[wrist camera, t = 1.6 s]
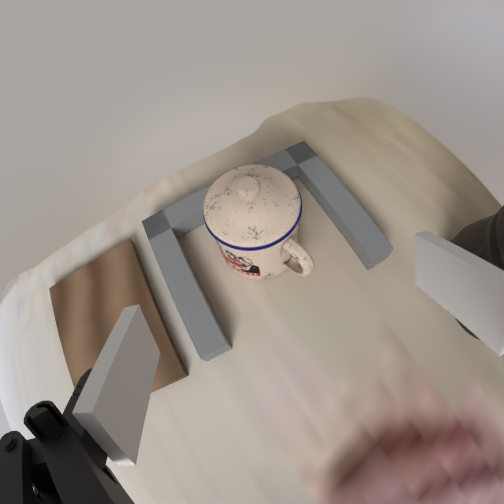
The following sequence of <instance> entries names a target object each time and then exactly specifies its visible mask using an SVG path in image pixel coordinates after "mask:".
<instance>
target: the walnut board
mask: <svg viewBox="0 0 504 504" xmlns="http://www.w3.org/2000/svg"><path fill="white" fill-rule="evenodd" d="M49 290H50V295H51V300H52V306H53V310H54V315H55V320H56V324H57V328H58V333H59V337H60V341H61V344H62V348H63V352H64V356H65V359H66V363H67V366H68V369H69V373H70V376H71V379H72V382H73V385H74V388H76V385H77V383H78V381H79V379H80V377H81V376H82V375H83V374H84V373H85V372H86V371H87V370H88V369H91V368H93V367H94V365H95V363H96V361H97V359H98V357H99V355H100V353H101V351H102V349H103V347H104V345H105V343H106V341H107V339H108V337H109V335H110V333H111V331H112V330H113V328H114V326H115V324H116V322H117V320H118V318H119V316H120V315H121V313H122V311H123V309H124V308H125V307H129V306H133V305H138V304H139V305H140V308H141V310H142V313H143V315H144V317H145V320H146V322H147V324H148V326H149V329H150V331H151V333H152V335H153V338H154V340H155V342H156V344H157V346H158V348H159V351H160V357H159V361H158V365H157V369H156V373H155V377H154V381H153V385H152V390H151V392H154V391H156V390H158V389H160V388H163V387H165V386H167V385H169V384H171V383H173V382H176V381H178V380H180V379H182V378H184V377H186V376H188V373H187V371H186V369H185V367H184V364H183V362H182V360H181V358H180V356H179V354H178V352H177V349H176V347H175V345H174V343H173V340H172V338H171V336H170V334H169V331H168V329H167V327H166V324H165V322H164V320H163V317H162V315H161V312H160V310H159V308H158V305H157V303H156V300H155V298H154V295H153V293H152V290H151V288H150V285H149V282H148V280H147V277H146V275H145V272H144V269H143V266H142V264H141V261H140V258H139V255H138V253H137V250H136V247H135V244H134V242H133V241H132V240H131V239H129V240H127V241H126V242H124V243H122V244H121V245H119V246H117V247H115V248H114V249H112V250H110V251H109V252H107V253H105V254H104V255H102V256H100V257H99V258H97V259H95V260H94V261H92V262H90V263H89V264H87V265H85V266H84V267H82V268H81V269H79V270H77V271H76V272H74V273H72V274H71V275H69V276H68V277H66V278H65V279H63V280H61V281H60V282H58V283H57V284H55V285H54V286H52V287H51V288H49Z"/></svg>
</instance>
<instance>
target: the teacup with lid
mask: <svg viewBox="0 0 504 504" xmlns="http://www.w3.org/2000/svg"><path fill="white" fill-rule="evenodd" d="M301 212H302V200H301V195H300V193H299V190H298V188H297V187H296V185H295V184H294V182H293V181H292V180H291V179H290V178H289V177H288V176H287V175H286V174H284V173H283V172H281V171H279V170H278V169H275V168H273V167H270V166H265V165H245V166H240V167H237V168H234V169H232V170H230V171H228V172H226V173H224V174H223V175H222V176H220V177H219V178H218V179H217V180H216V181H215V182H214V183H213V184H212V186H211V187H210V189H209V190H208V192H207V194H206V197H205V200H204V205H203V218H204V222H205V225H206V227H207V229H208V231H209V232H210V233H211V235H212V236H213V237H214V238H215V240H216V242H217V244H218V246H219V248H220V250H221V252H222V254H223V257H224V259H225V261H226V262H227V264H228V265H229V267H230V268H231V269H232V270H233V271H234V272H236V273H237V274H239V275H241V276H243V277H245V278H249V279H255V280H262V279H268V278H272V277H275V276H277V275H279V274H280V273H282V272H283V271H285V270H286V269H287V268H288V269H289V270H291V271H292V272H294V273H295V274H297V275H300V276H307V275H309V274H310V273H311V272H312V271H313V269H314V261H313V259H312V257H311V256H310V254H309V253H308V251H307V250H306V249H305V248H304V247H303V246H302V245H301V244H300V243H298V230H299V219H300V217H301Z"/></svg>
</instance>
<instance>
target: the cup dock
mask: <svg viewBox="0 0 504 504" xmlns="http://www.w3.org/2000/svg"><path fill="white" fill-rule="evenodd" d="M252 165H265V166H270V167H273V168H275V169H278V170H279V171H281V172H283V173H284V174H286V175H287V176H288V177H289V178H290V179H291V180H292V179H294V178H296V177H298V178H299V179H300V181H301V182H302V183H303V184H304V185H305V187H306V188H307V189H308V191H309V192H310V193H311V194H312V196H313V197H314V198H315V199H316V201H317V202H318V203H319V205H320V206H321V207H322V208H323V210H324V211H325V212H326V214H327V215H328V216H329V218H330V219H331V220H332V222H333V223H334V224H335V225H336V227H337V228H338V230H339V231H340V232H341V234H342V235H343V236H344V238H345V239H346V240H347V242H348V243H349V244H350V246H351V247H352V249H353V250H354V251H355V253H356V254H357V256H358V257H359V258H360V260H361V261H362V263H363V264H364V265H365V267H366V268H367V270H369V269H370V268H372V267H373V266H375V265H376V264H378V263H379V262H381V261H382V260H384V259H386V258H387V257H388V256H389V254H390V253H391V251H392V250H393V247H392V245H391V244H390V242H389V241H388V240H387V239H386V237H385V236H384V235H383V233H382V232H381V231H380V229H379V228H378V227H377V225H376V224H375V223H374V222H373V220H372V219H371V218H370V217H369V215H368V214H367V213H366V212H365V210H364V209H363V208H362V207H361V205H360V204H359V203H358V202H357V200H356V199H355V198H354V197H353V196H352V194H351V193H350V192H349V191H348V190H347V188H346V187H345V186H344V185H343V184H342V183H341V181H340V180H339V179H338V178H337V177H336V176H335V174H334V173H333V172H332V171H331V170H330V169H329V168H328V166H327V165H326V164H325V163H324V162H323V161H322V160H321V159H320V158H319V156H318V155H317V154H316V153H315V152H314V151H313V150H312V149H311V148H310V147H309V146H308V145H307V143H306V142H305V141H303V142H301V143H299V144H296V145H294V146H292V147H289V148H287V149H285V150H283V151H280V152H278V153H276V154H274V155H271V156H269V157H267V158H265V159H263V160H261V161H258V162H256V163H254V164H252ZM211 186H212V184H211V185H209V186H207V187H205V188H203V189H201V190H199V191H197V192H195V193H193V194H191V195H189V196H187V197H185V198H184V199H182V200H180V201H178V202H176V203H174V204H172V205H170V206H169V207H167V208H165V209H163V210H161V211H159V212H158V213H156V214H154V215H152V216H150V217H149V218H147V219H145V220H143V221H142V223H143V226H144V229H145V231H146V234H147V237H148V239H149V242H150V244H151V247H152V249H153V252H154V255H155V257H156V260H157V262H158V265H159V267H160V269H161V272H162V274H163V277H164V279H165V282H166V284H167V286H168V289H169V291H170V293H171V296H172V298H173V300H174V303H175V305H176V307H177V309H178V312H179V314H180V316H181V318H182V320H183V323H184V325H185V327H186V329H187V331H188V333H189V336H190V338H191V340H192V342H193V344H194V346H195V348H196V350H197V352H198V355H199V357H200V359H202V360H205V361H208V360H210V359H212V358H214V357H216V356H218V355H220V354H222V353H224V352H226V351H228V350H230V349H232V347H231V345H230V343H229V341H228V339H227V337H226V336H225V334H224V332H223V330H222V328H221V326H220V324H219V322H218V320H217V318H216V316H215V314H214V312H213V310H212V308H211V306H210V304H209V302H208V300H207V298H206V296H205V294H204V292H203V290H202V288H201V286H200V284H199V282H198V280H197V278H196V275H195V273H194V271H193V269H192V267H191V265H190V263H189V261H188V259H187V256H186V254H185V252H184V250H183V248H182V246H181V243H180V241H179V239H178V237H180V236H182V235H184V234H186V233H187V232H189V231H191V230H193V229H195V228H197V227H199V226H201V225H202V224H204V223H205V222H204V218H203V205H204V200H205V197H206V194H207V192H208V190H209V189H210V187H211Z"/></svg>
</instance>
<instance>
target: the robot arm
mask: <svg viewBox="0 0 504 504" xmlns="http://www.w3.org/2000/svg"><path fill="white" fill-rule="evenodd" d="M415 252H416V286H418V287H419V288H420V289H421V290H423V291H424V292H425V293H426V294H428V295H429V296H430V297H431V298H432V299H434V300H435V301H436V302H437V303H439V304H440V305H441V306H442V307H443V308H445V309H446V310H447V311H448V312H449V313H450V314H452V315H453V316H454V317H455V318H456V320H457V321H458V322H459V324H460V325H461V326H462V327H463V328H464V329H465V330H466V331H467V332H468V333H469V334H471V335H472V336H474V337H475V338H477V339H479V340H481V341H483V342H484V343H485V344H486V345H487V346H488V347H489V348H490V349H491V350H492V351H494V352H495V353H496V354H497V355H498V356H499V357H500V356H502V355H503V354H504V206H503V207H502V208H501V209H500V210H499V211H498V212H497V214H495V215H493V216H490V217H488V218H485V219H482V220H480V221H477V222H475V223H472V224H470V225H468V226H467V227H465V228H464V229H463V230H462V231H461V232H460V233H459V234H458V235H457V236H456V237H455V238H454V239H453V241H452V242H449V241H447V240H445V239H443V238H441V237H439V236H437V235H435V234H433V233H431V232H429V231H424V232H420V233H417V234H415ZM159 357H160V351H159V348H158V346H157V344H156V342H155V340H154V338H153V335H152V333H151V331H150V329H149V326H148V324H147V322H146V320H145V317H144V315H143V313H142V310H141V308H140V305H139V304H138V305H133V306H129V307H125V308H124V309H123V311H122V313H121V315H120V316H119V318H118V320H117V322H116V324H115V326H114V328H113V330H112V331H111V333H110V335H109V337H108V339H107V341H106V343H105V345H104V347H103V349H102V351H101V353H100V355H99V357H98V359H97V361H96V363H95V365H94V367H93V368H91V369H88V370H87V371H86V372H85V373H84V374H83V375H82V376H81V377H80V379H79V381H78V383H77V385H76V388H75V389H74V392H73V396H71V398H70V400H69V402H68V404H67V406H66V408H65V410H64V412H63V415H62V414H61V412H60V411H59V410H58V408H57V407H56V406H55V405H54V403H53V402H51V401H41V402H39V403H37V404H35V405H34V406H32V407H31V408H30V409H29V410H28V411H27V413H26V415H25V417H24V424H25V425H26V427H27V428H28V429H29V430H30V431H31V432H32V434H33V435H34V436H35V437H36V438H34V439H29V440H26V439H25V438H24V437H23V436H22V434H21V433H20V432H18V431H11V432H9V433H6V434H5V435H4V436H3V437H2V438H1V440H0V504H134V502H133V501H132V500H131V498H130V497H129V496H128V494H127V493H126V491H125V490H124V489H123V487H122V486H121V484H120V483H119V482H118V480H117V479H116V477H115V476H114V474H113V473H112V471H111V470H110V469H109V468H108V467H107V466H106V465H105V464H106V460H107V457H109V458H110V459H111V460H112V461H113V462H114V463H115V464H116V465H136V460H137V455H138V450H139V445H140V440H141V435H142V430H143V425H144V421H145V416H146V412H147V407H148V403H149V398H150V394H151V390H152V385H153V381H154V377H155V373H156V369H157V365H158V361H159ZM33 487H34V490H33Z"/></svg>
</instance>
